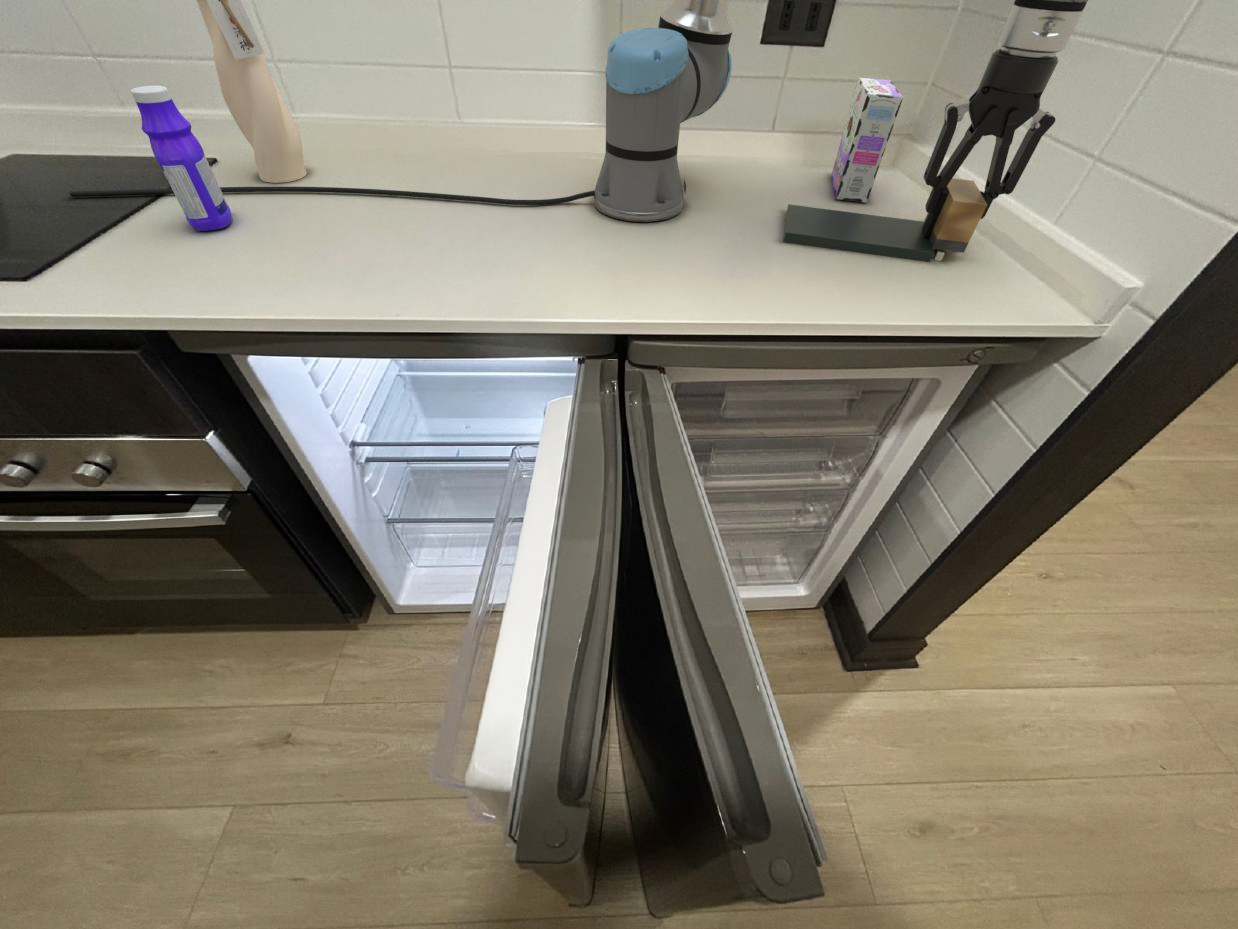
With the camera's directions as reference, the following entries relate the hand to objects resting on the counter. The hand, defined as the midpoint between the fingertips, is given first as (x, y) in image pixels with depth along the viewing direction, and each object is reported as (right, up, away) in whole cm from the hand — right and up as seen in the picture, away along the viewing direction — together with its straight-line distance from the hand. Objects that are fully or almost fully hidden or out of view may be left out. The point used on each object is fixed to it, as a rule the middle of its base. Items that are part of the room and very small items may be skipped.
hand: (943, 235), depth 86 cm
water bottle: (-110, +16, +13) cm, 112 cm away
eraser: (0, 0, 0) cm, 0 cm away
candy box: (-7, +16, +19) cm, 26 cm away
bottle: (-113, +1, -2) cm, 112 cm away
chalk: (-2, -3, -1) cm, 4 cm away
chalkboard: (-13, +1, +3) cm, 13 cm away
